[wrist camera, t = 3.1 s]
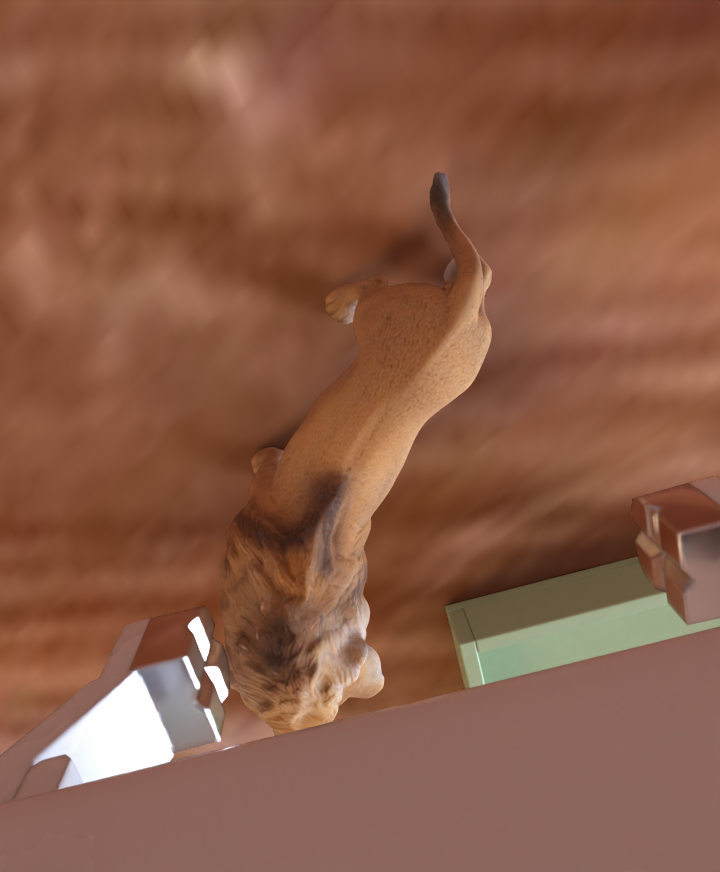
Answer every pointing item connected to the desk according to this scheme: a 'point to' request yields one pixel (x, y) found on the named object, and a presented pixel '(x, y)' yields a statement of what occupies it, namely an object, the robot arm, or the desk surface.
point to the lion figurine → (344, 489)
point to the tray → (561, 622)
